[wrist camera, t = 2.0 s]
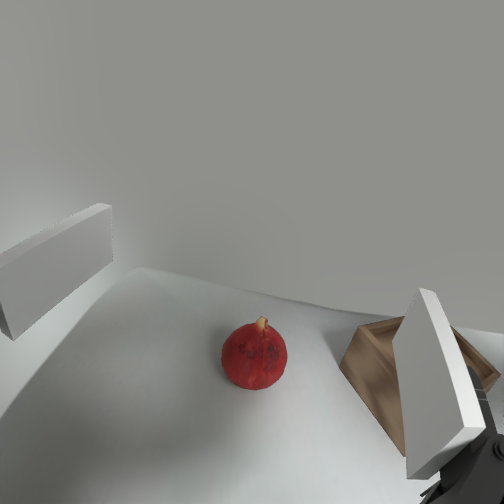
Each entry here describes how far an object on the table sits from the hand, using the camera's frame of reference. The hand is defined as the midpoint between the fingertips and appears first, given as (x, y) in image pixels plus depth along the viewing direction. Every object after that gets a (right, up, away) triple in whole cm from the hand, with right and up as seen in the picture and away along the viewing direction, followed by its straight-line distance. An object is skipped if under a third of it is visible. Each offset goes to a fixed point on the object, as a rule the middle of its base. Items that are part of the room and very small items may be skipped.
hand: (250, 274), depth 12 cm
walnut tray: (+18, -15, +17) cm, 29 cm away
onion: (0, -12, +17) cm, 20 cm away
